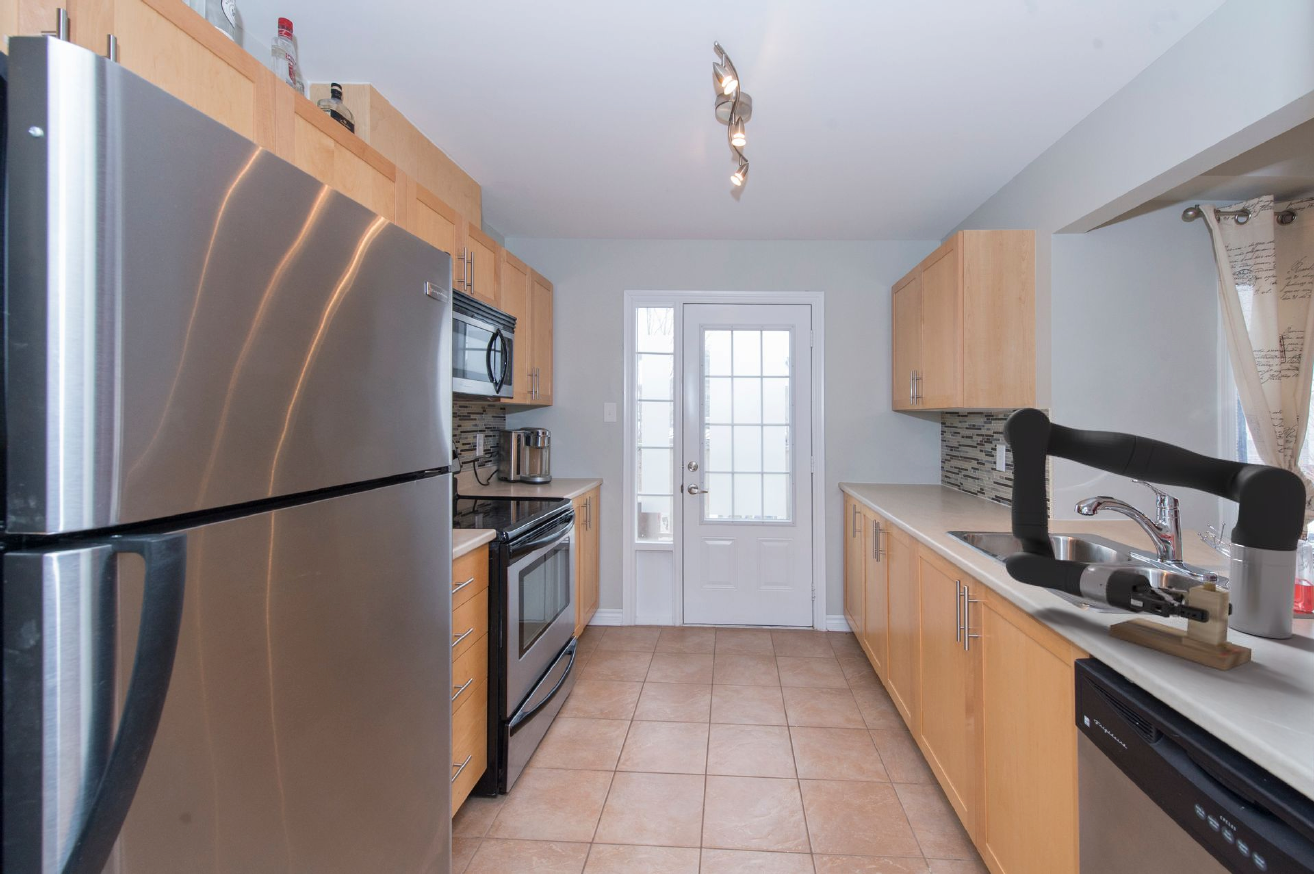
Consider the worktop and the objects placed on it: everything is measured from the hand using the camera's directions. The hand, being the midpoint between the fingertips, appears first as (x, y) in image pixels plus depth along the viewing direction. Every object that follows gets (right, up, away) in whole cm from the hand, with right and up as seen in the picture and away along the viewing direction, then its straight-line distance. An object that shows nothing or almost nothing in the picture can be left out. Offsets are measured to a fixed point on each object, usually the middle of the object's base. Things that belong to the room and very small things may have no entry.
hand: (1220, 613), depth 102 cm
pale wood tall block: (-1, -6, +2) cm, 7 cm away
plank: (-2, -8, +6) cm, 11 cm away
